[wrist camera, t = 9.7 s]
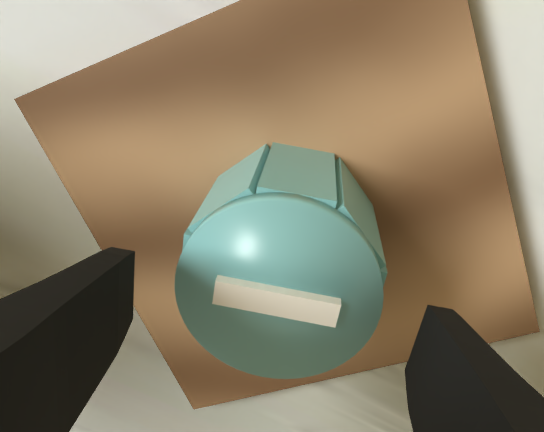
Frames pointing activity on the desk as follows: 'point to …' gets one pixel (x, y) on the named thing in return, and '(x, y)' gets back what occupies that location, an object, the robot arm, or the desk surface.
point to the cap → (283, 265)
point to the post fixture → (307, 134)
